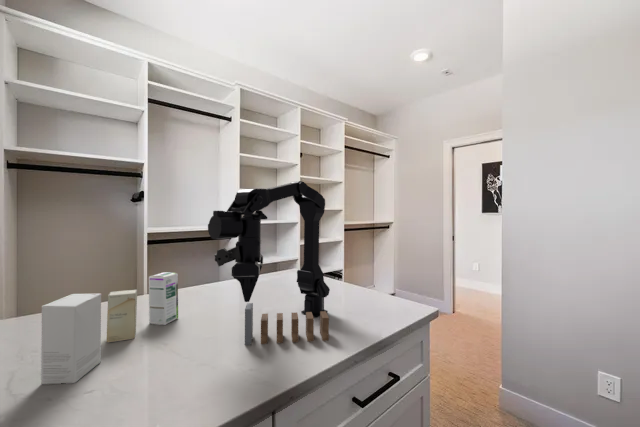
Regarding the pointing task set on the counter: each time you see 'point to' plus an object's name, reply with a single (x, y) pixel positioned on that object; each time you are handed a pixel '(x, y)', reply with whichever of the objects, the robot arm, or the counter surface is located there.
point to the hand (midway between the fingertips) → (248, 296)
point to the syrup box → (163, 298)
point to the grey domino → (248, 323)
